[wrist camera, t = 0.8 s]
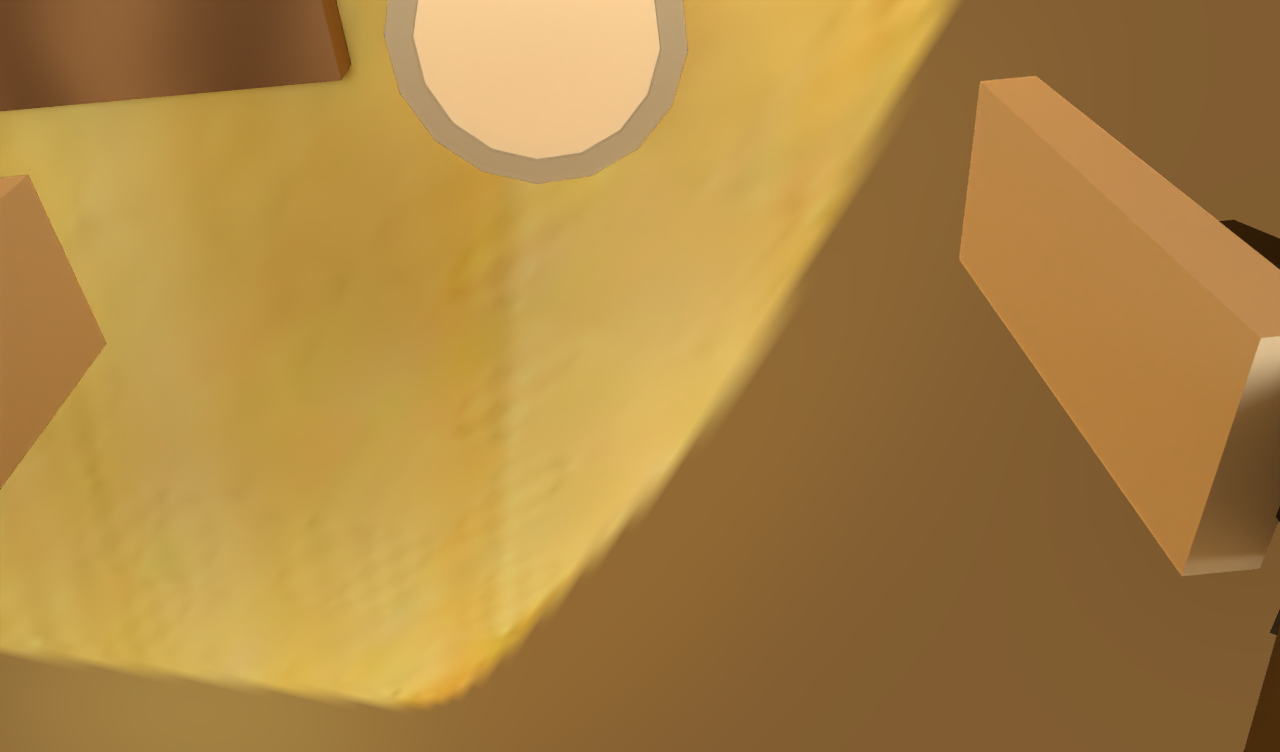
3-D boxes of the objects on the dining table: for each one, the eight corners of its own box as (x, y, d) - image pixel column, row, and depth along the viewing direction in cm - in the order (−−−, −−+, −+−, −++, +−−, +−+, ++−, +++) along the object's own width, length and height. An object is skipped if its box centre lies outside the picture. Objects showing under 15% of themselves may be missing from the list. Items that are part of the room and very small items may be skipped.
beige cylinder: (602, 129, 31) (610, 227, 25) (389, 32, 29) (342, 115, 23) (707, -87, 27) (744, -32, 21) (474, -214, 25) (445, -191, 19)
